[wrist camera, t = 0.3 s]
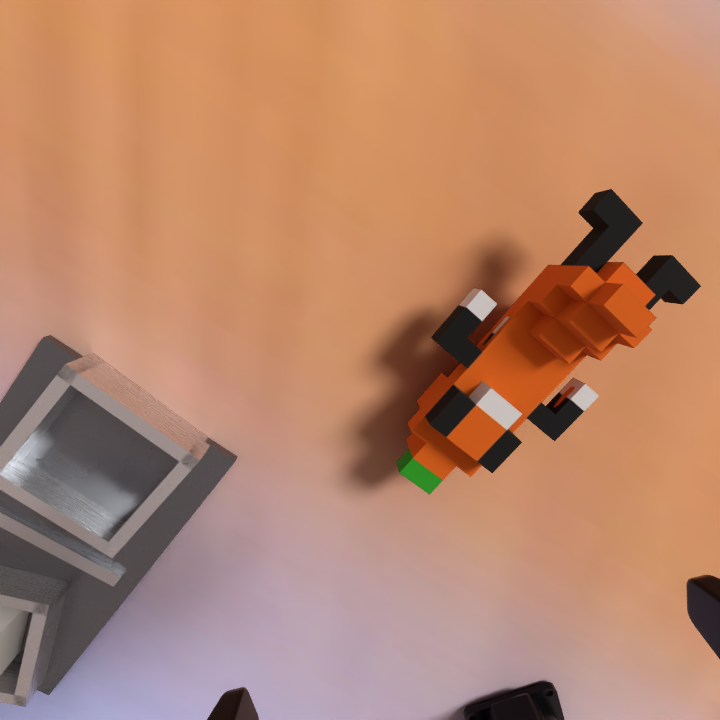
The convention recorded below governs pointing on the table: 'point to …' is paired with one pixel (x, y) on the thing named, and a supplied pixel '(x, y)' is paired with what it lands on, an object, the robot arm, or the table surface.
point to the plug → (11, 634)
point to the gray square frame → (31, 629)
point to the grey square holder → (127, 404)
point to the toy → (537, 349)
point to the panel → (100, 485)
